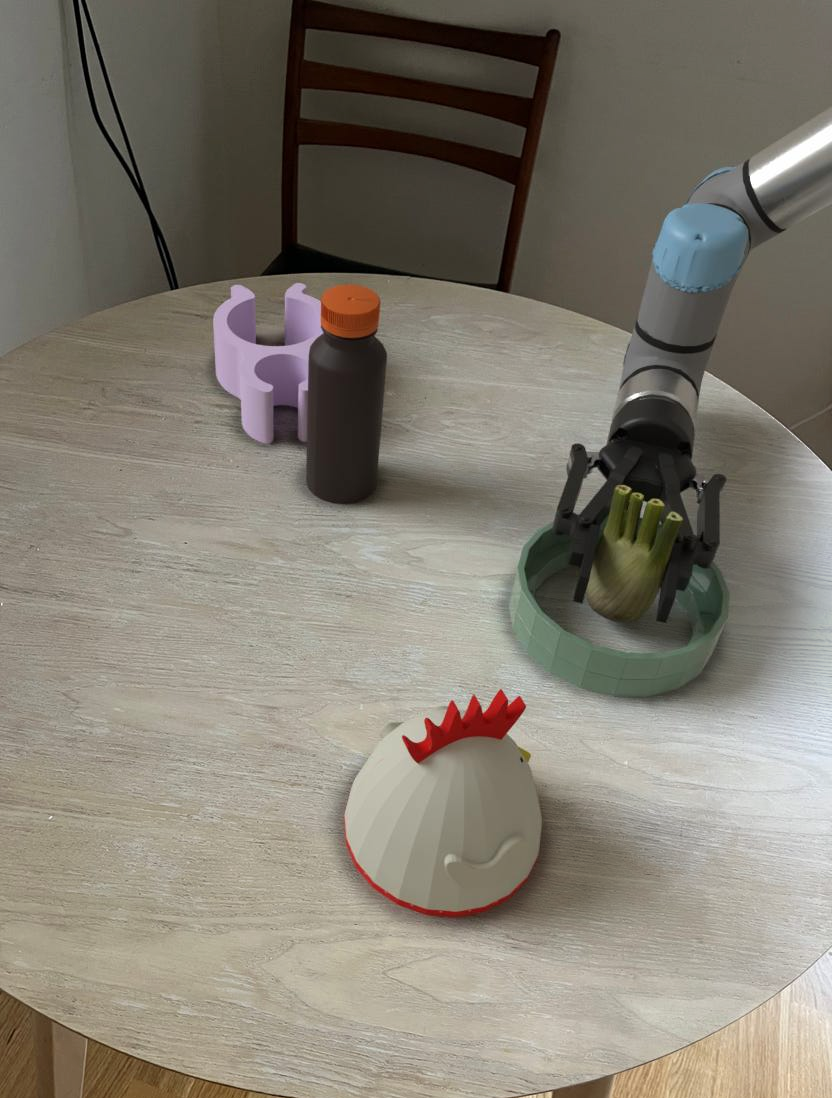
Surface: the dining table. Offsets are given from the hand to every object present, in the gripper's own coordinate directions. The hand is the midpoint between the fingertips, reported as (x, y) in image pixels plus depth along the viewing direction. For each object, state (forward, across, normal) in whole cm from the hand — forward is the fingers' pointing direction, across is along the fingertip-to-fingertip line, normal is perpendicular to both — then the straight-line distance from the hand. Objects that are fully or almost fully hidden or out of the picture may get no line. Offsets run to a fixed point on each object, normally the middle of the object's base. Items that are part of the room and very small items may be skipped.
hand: (623, 599), depth 83 cm
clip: (-28, +38, -8) cm, 48 cm away
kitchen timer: (+20, +9, -8) cm, 23 cm away
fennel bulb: (-5, 0, -6) cm, 8 cm away
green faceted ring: (-5, 0, -8) cm, 10 cm away
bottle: (-15, +27, -8) cm, 32 cm away
